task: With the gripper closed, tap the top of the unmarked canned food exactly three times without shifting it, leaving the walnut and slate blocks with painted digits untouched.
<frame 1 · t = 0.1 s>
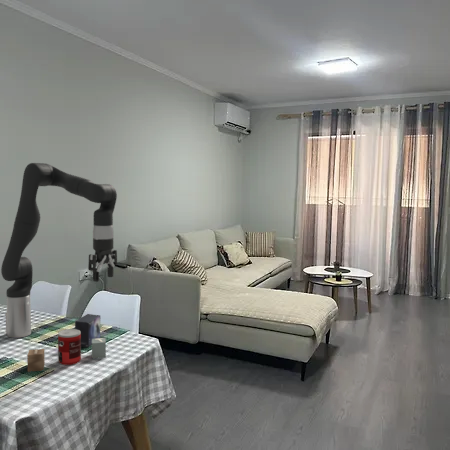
hand: (103, 279, 171), 29 cm above the table, fingers open, 8 cm apart
slate digit block: (98, 355, 171), on the table
canned food: (69, 361, 166), on the table
walnut digit block: (36, 368, 159), on the table
small box: (88, 343, 185), on the table
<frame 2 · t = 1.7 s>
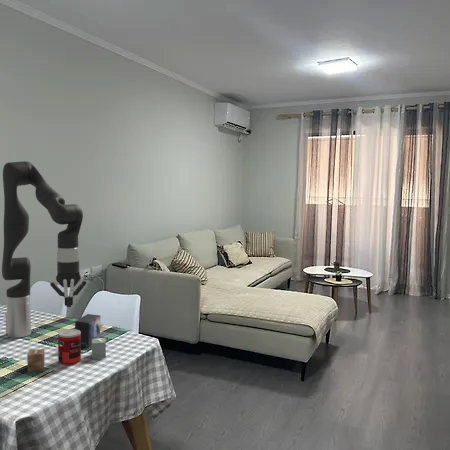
hand: (68, 306, 163), 21 cm above the table, fingers closed
nothing on the table moved.
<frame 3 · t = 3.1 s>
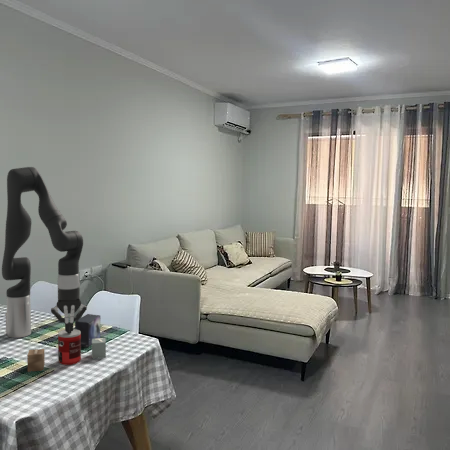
hand: (69, 332, 164), 11 cm above the table, fingers closed
canned food: (69, 361, 166), on the table, touching gripper
everything else where it was.
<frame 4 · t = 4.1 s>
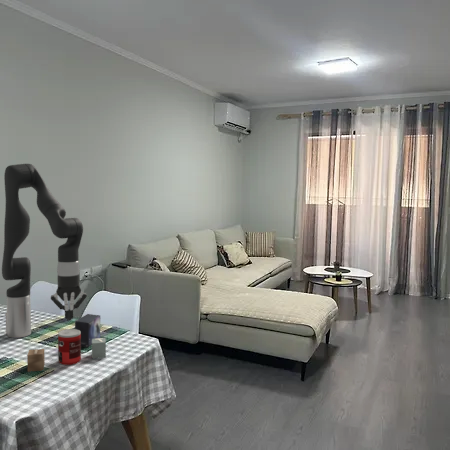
hand: (69, 319, 164), 16 cm above the table, fingers closed
canned food: (69, 361, 166), on the table
everything else where it was.
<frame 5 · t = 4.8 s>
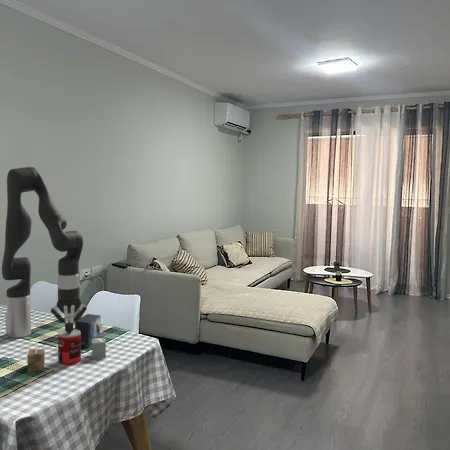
hand: (69, 332, 164), 11 cm above the table, fingers closed
canned food: (69, 361, 166), on the table, touching gripper
everything else where it was.
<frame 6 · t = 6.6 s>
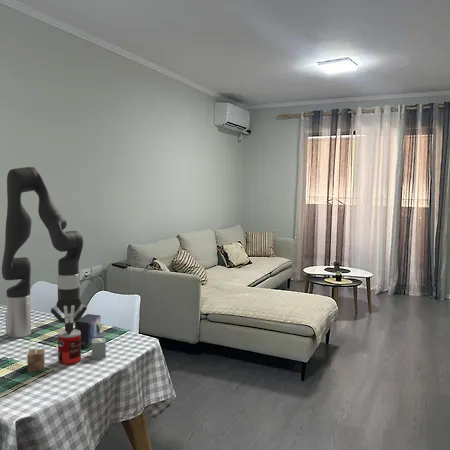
hand: (69, 332, 164), 11 cm above the table, fingers closed
nothing on the table moved.
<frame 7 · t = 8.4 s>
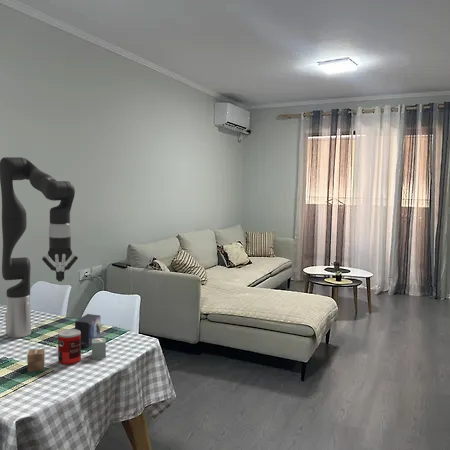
hand: (60, 280, 168), 29 cm above the table, fingers closed
canned food: (69, 361, 166), on the table
everything else where it was.
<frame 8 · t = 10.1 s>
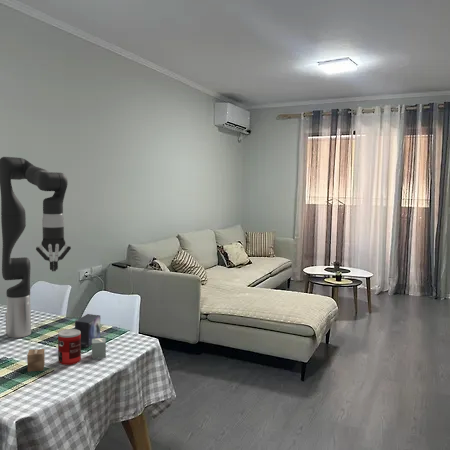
hand: (53, 270, 170), 32 cm above the table, fingers closed
nothing on the table moved.
at the end: canned food moved 0.2 cm from its start; canned food tilted 0°; slate digit block moved 0.1 cm from its start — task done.
